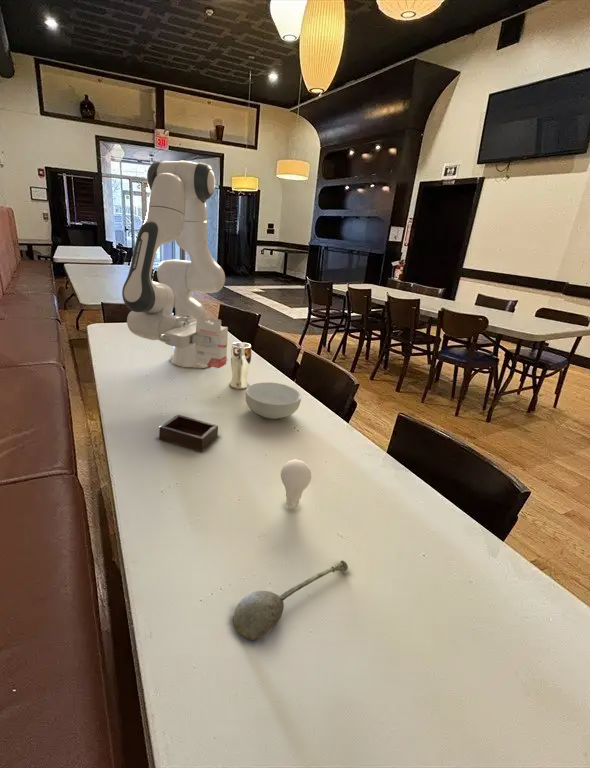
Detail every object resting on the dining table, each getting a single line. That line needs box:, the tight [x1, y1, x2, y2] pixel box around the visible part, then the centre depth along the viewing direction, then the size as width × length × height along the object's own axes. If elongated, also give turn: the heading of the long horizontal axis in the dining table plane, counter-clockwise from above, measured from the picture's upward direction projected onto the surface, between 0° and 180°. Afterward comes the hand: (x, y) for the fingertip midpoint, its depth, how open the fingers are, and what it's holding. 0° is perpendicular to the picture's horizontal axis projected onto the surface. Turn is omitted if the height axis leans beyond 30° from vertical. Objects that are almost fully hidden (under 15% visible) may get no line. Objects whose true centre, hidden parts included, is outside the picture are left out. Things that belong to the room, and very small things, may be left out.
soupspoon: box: [233, 560, 349, 640], centre depth 65 cm, size 22×3×7 cm
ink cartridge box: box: [195, 316, 229, 369], centre depth 124 cm, size 9×5×15 cm, turn 67°
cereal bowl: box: [245, 381, 302, 420], centre depth 126 cm, size 17×17×7 cm
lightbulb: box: [280, 459, 312, 510], centre depth 84 cm, size 6×6×11 cm
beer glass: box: [230, 341, 252, 390], centre depth 143 cm, size 7×7×15 cm
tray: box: [158, 414, 219, 453], centre depth 108 cm, size 9×13×4 cm
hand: (214, 338), depth 123 cm, fingers closed on ink cartridge box, 5 cm apart
